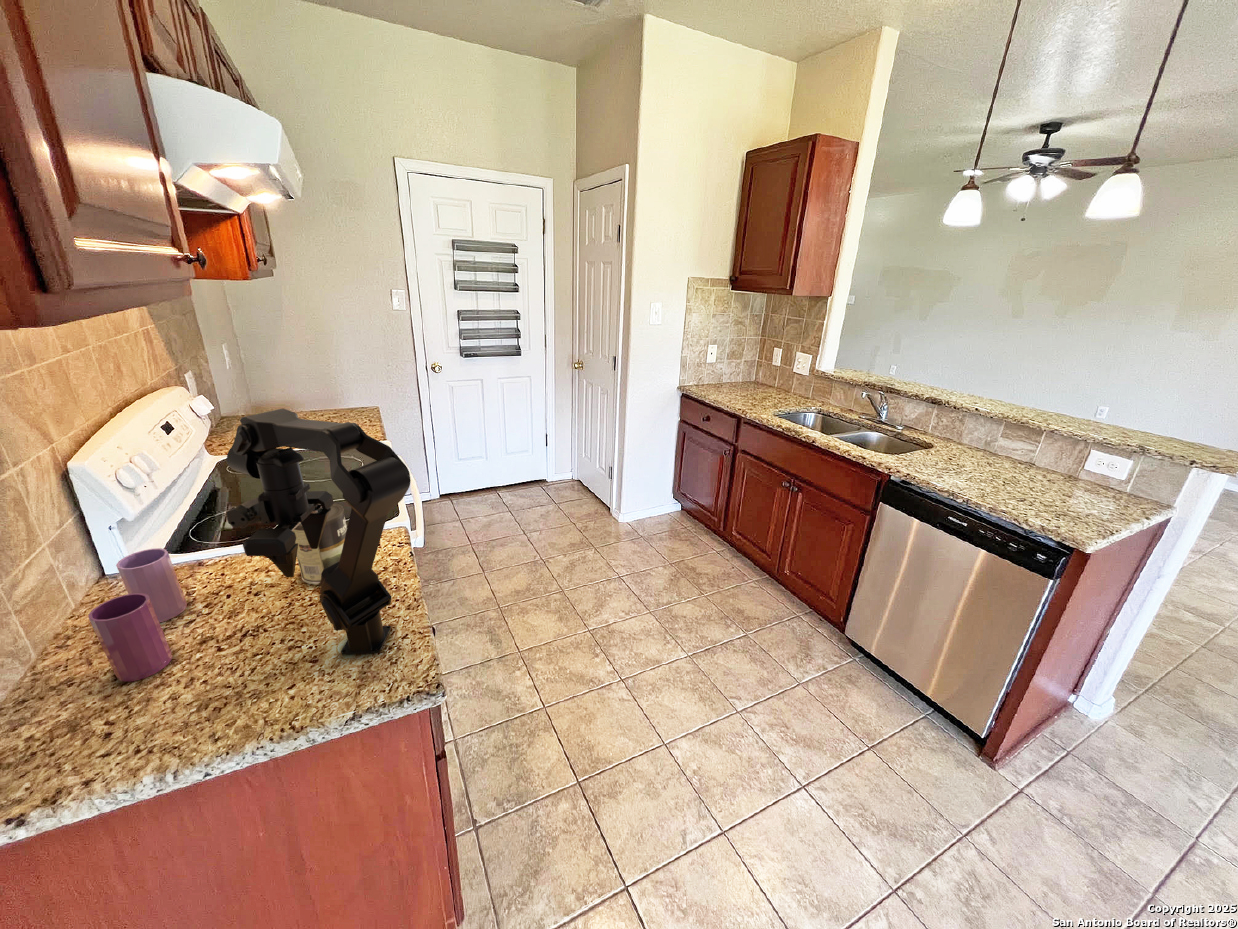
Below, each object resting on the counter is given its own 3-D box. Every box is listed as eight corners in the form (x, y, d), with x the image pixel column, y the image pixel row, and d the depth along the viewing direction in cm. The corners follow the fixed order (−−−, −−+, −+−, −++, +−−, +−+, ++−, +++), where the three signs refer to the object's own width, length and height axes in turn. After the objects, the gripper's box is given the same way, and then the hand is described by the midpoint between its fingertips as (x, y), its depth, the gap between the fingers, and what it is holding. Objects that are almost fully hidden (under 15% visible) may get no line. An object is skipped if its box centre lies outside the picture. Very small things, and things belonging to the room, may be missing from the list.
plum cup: (165, 673, 79) (139, 613, 75) (109, 687, 76) (79, 626, 72) (177, 646, 85) (155, 588, 80) (126, 658, 82) (99, 599, 78)
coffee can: (357, 554, 113) (346, 499, 108) (352, 579, 104) (340, 521, 99) (305, 562, 109) (291, 506, 104) (296, 589, 100) (280, 529, 95)
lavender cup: (170, 623, 90) (148, 568, 86) (129, 625, 89) (105, 570, 85) (195, 600, 96) (176, 547, 92) (157, 601, 96) (136, 549, 91)
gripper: (263, 463, 91) (282, 537, 96) (193, 510, 73) (222, 596, 79) (326, 463, 92) (342, 535, 98) (272, 508, 75) (295, 593, 80)
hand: (302, 562), depth 89 cm, fingers open, 9 cm apart
